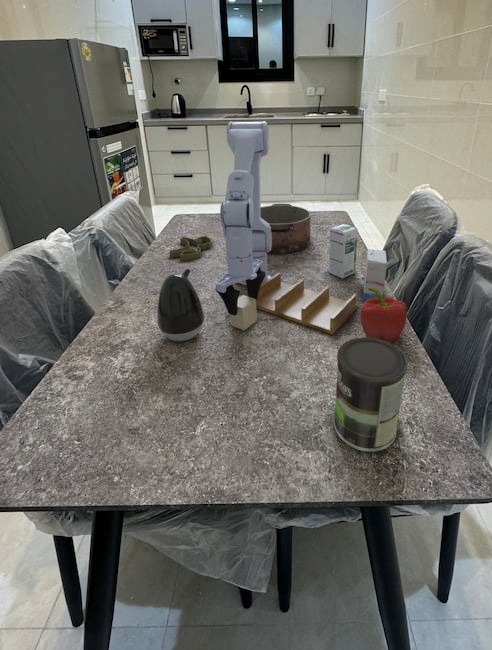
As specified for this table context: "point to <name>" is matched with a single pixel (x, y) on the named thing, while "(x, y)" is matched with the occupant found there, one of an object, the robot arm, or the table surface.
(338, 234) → the syrup box
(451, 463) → the table surface
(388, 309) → the vegetable
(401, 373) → the coffee can
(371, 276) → the ink box
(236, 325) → the block
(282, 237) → the cooking pot
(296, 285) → the dish rack
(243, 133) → the robot arm
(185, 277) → the black rounded egg shape
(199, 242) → the cookie cutter
